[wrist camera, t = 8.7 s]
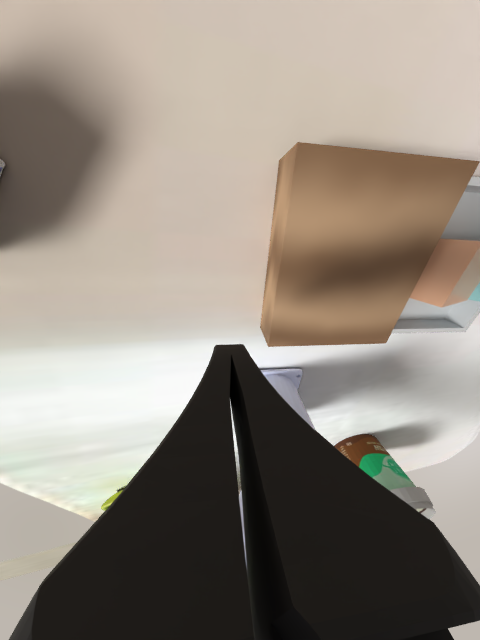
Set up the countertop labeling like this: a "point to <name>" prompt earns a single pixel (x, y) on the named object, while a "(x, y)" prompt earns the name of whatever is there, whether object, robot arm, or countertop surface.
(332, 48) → the countertop surface
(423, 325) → the tray
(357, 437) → the food container
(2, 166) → the medicine box
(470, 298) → the teal tile
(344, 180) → the walnut board
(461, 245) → the terracotta tile
